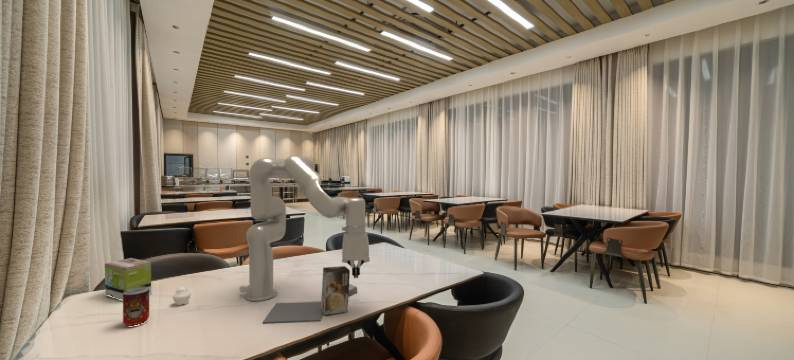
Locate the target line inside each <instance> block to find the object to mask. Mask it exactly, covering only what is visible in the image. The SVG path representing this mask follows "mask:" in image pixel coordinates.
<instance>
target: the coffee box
mask: <svg viewBox="0 0 794 360" xmlns="http://www.w3.org/2000/svg"><path fill="white" fill-rule="evenodd" d="M350 273H351V270H350V269H349V268H348V267H346V266H345V265H342V266H341V265H340V266H328V267H323V268H322V281H321V282H322V284H321V297H320V298H321V299H320V300H321V301H320V302H321V309H322V311H323V315H325V316H327V315H334V314H342V313H347V312H349V297H350V296H349V284H350V278H351V275H350Z"/></svg>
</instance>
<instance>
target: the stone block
mask: <svg viewBox="0 0 794 360" xmlns="http://www.w3.org/2000/svg"><path fill="white" fill-rule="evenodd" d="M357 292H358V287H357V286H356V285H354V284H352V283H349V297H351V296H353V295H356V294H357Z"/></svg>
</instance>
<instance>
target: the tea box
mask: <svg viewBox="0 0 794 360" xmlns="http://www.w3.org/2000/svg"><path fill="white" fill-rule="evenodd" d="M104 283H105V284H104V287H105V290H104V293H105V294H106V295H110V296H112V297H115V298H118V299H122V300H123V293H124V292H125V291H126V290H128V289H130V288H134V287H139V286H144V287H148V288H149V293H151V294H152V262H151V261H150V260H149V261H147V260H144V259H137V258H133V257H130V258H125V259H124V258H123V259H120V260H115V261H111V262H107V263H104ZM105 294H104V295H105ZM106 295H105V296H106Z"/></svg>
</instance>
